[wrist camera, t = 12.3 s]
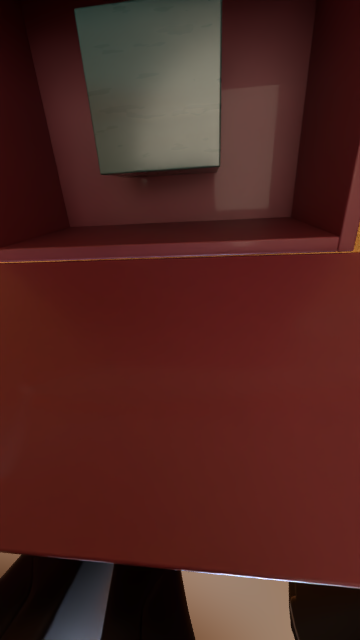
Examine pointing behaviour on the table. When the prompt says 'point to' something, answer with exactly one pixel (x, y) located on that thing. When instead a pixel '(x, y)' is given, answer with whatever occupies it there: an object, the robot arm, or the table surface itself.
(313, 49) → the dark red open box
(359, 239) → the table surface
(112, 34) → the block
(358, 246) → the table surface
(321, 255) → the flap
